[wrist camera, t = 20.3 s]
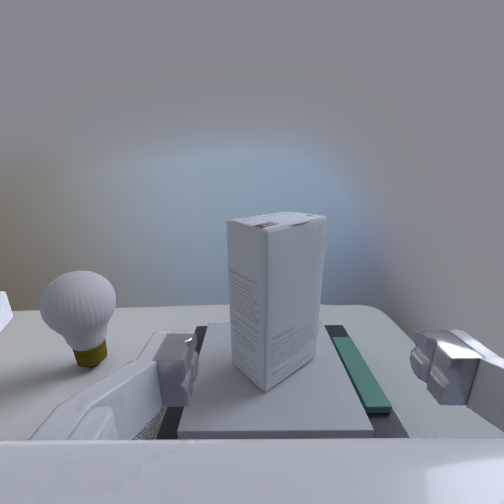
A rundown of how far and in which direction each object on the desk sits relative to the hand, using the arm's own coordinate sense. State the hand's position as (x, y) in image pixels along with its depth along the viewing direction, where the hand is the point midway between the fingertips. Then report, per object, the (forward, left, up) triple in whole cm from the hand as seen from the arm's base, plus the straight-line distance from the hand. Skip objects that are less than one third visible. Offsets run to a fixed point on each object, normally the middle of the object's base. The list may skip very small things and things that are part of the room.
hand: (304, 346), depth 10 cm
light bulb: (+18, -14, -12) cm, 26 cm away
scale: (0, -10, -12) cm, 16 cm away
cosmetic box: (0, -10, -9) cm, 13 cm away
